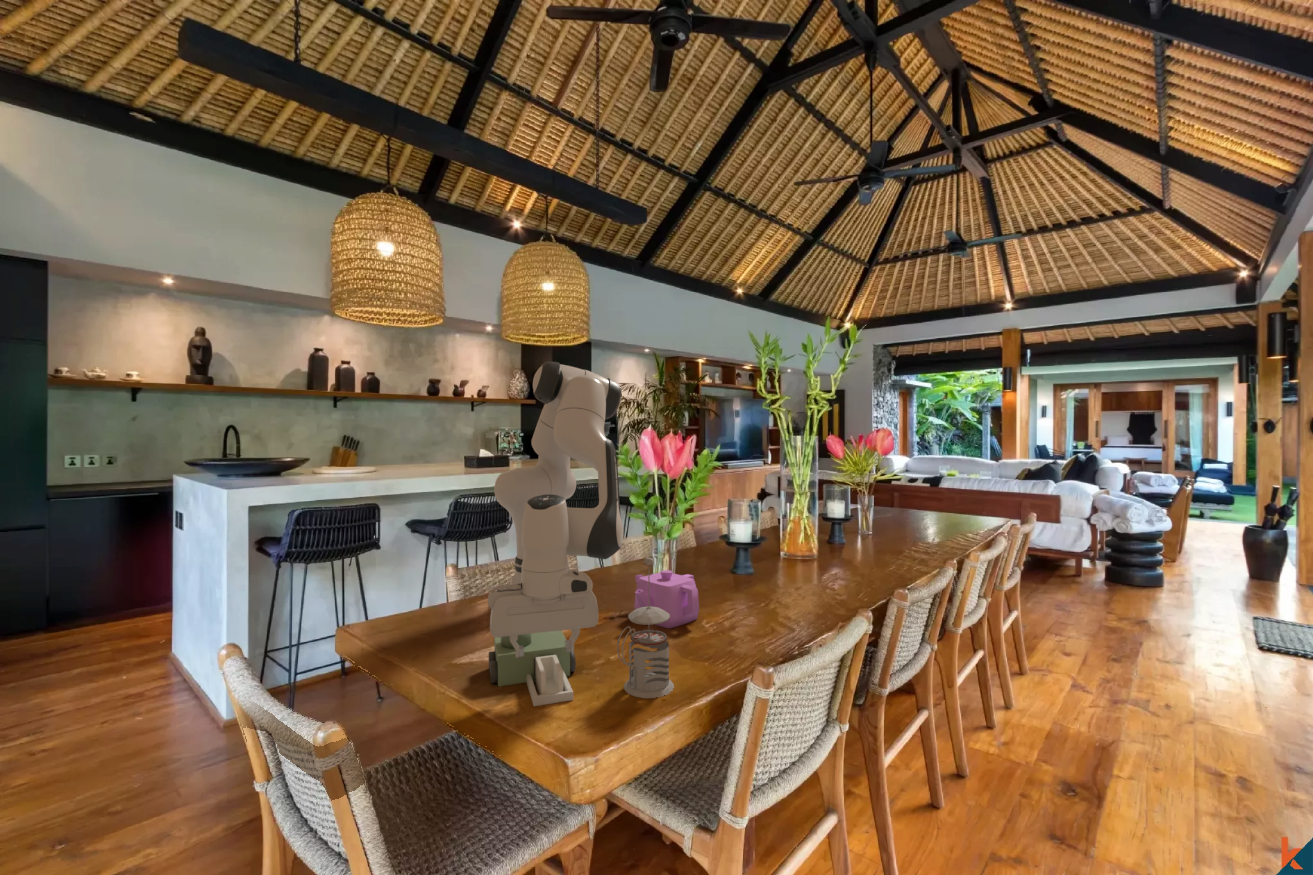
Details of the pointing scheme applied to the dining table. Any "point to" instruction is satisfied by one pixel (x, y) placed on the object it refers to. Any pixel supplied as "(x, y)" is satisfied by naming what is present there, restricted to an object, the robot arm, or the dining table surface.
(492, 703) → the dining table surface
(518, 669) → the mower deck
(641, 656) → the french press
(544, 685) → the slotted cream stand
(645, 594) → the teakettle
